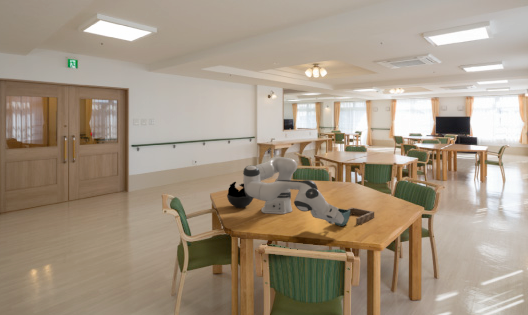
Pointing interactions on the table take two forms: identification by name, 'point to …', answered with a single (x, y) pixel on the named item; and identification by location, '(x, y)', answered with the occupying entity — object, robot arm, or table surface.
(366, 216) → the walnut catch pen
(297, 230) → the table surface
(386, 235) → the table surface
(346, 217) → the flower pot
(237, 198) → the bowl of black rocks
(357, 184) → the table surface
